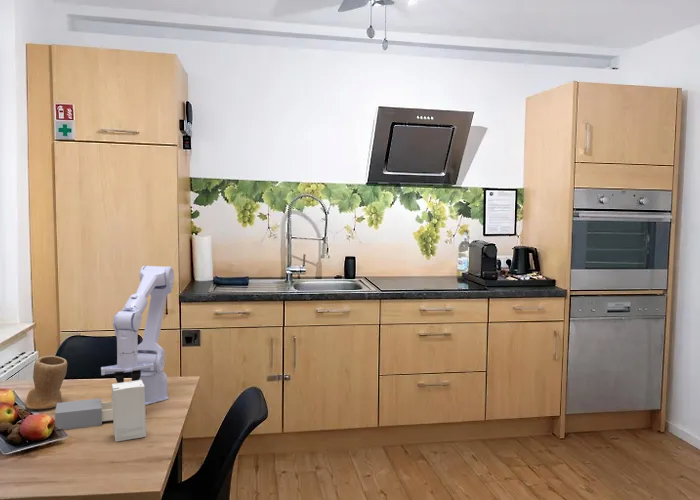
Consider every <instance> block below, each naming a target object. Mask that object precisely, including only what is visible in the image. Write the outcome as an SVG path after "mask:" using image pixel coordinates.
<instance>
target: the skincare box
mask: <svg viewBox="0 0 700 500" xmlns="http://www.w3.org/2000/svg"><path fill="white" fill-rule="evenodd" d="M111 399H112V401H111V402H112V403H113V420H112V422H113V424H112V425H113V436H114V440H115V442H123V441H128V440H134V439H139V438H141V439H142V438H146V437H147V427H146V426H147V425H146V423H147V422H146V419H147V418H146V405H145V386H144V384H143V382H142V380H136V381H132V380H131V381H124V382H123V383H118V382H116V383H111Z"/></svg>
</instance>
